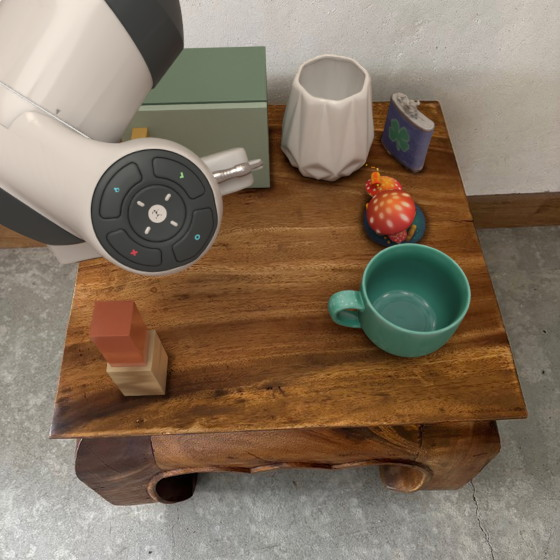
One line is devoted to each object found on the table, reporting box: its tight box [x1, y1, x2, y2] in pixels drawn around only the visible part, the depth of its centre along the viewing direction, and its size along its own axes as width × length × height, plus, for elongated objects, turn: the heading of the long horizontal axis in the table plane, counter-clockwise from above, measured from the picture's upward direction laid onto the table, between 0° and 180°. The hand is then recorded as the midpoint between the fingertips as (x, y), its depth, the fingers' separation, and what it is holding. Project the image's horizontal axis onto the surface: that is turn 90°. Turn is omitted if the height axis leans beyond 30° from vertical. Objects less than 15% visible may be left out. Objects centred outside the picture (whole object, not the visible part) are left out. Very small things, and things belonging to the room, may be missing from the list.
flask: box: [380, 91, 436, 173], centre depth 83 cm, size 9×3×11 cm, turn 30°
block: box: [88, 299, 150, 367], centre depth 58 cm, size 4×4×8 cm
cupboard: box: [141, 45, 271, 174], centre depth 81 cm, size 11×20×16 cm, turn 92°
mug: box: [327, 243, 472, 358], centre depth 68 cm, size 17×13×10 cm
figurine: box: [362, 163, 427, 248], centre depth 77 cm, size 12×9×8 cm
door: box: [120, 102, 271, 189], centre depth 76 cm, size 7×20×16 cm, turn 92°
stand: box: [105, 329, 169, 397], centre depth 65 cm, size 5×5×8 cm
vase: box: [280, 53, 375, 182], centre depth 81 cm, size 14×14×15 cm
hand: (146, 190), depth 58 cm, fingers open, 8 cm apart
